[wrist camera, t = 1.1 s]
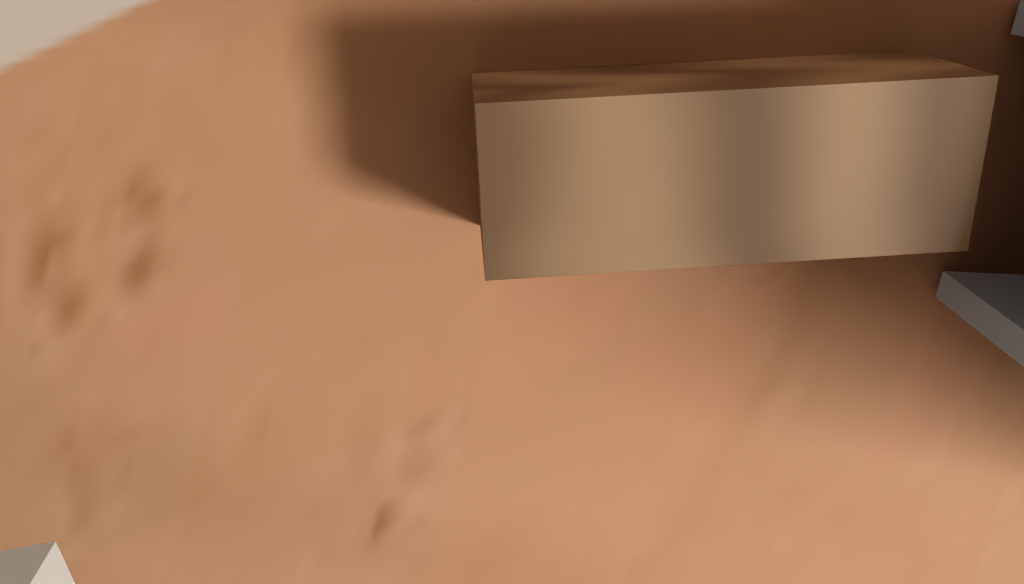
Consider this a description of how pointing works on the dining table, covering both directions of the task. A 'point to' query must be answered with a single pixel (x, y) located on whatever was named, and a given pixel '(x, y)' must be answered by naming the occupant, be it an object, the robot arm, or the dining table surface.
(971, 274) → the block
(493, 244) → the wooden slab
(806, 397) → the dining table surface
